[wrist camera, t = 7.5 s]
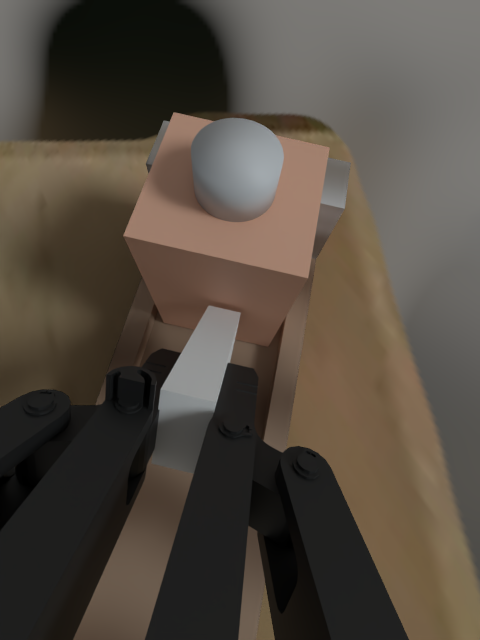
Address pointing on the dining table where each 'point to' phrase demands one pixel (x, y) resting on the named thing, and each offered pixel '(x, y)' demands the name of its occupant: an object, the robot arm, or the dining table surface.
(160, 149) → the block
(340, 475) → the dining table surface
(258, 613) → the track
